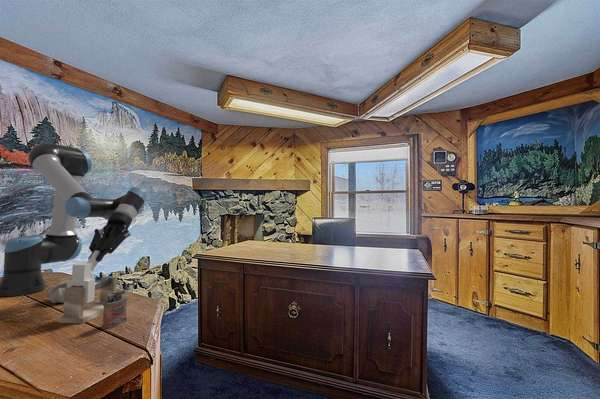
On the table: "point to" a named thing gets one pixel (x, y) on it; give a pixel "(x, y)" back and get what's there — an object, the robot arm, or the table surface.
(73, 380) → the table surface
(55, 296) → the fossil replica
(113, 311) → the lighter
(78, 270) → the white pipe saddle block
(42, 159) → the robot arm
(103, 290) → the pipe stand
